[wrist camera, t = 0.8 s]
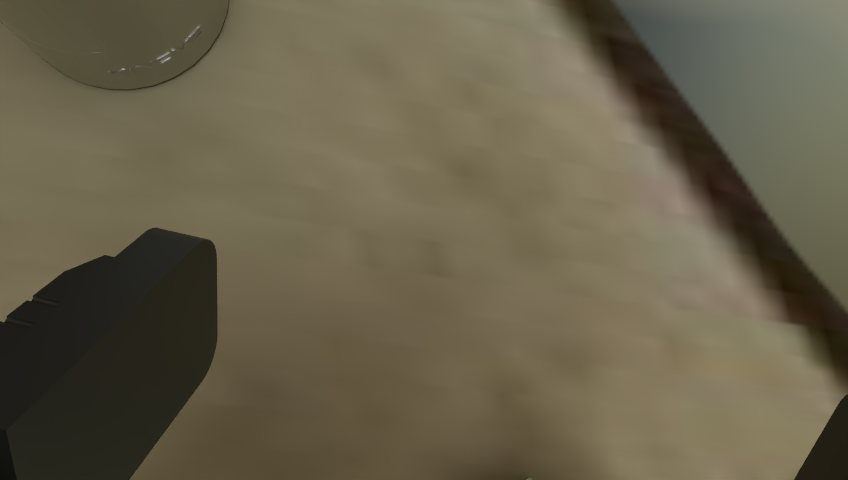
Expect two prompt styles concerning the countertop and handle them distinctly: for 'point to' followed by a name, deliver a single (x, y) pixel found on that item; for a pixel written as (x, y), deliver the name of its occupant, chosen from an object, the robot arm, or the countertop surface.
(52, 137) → the countertop surface
